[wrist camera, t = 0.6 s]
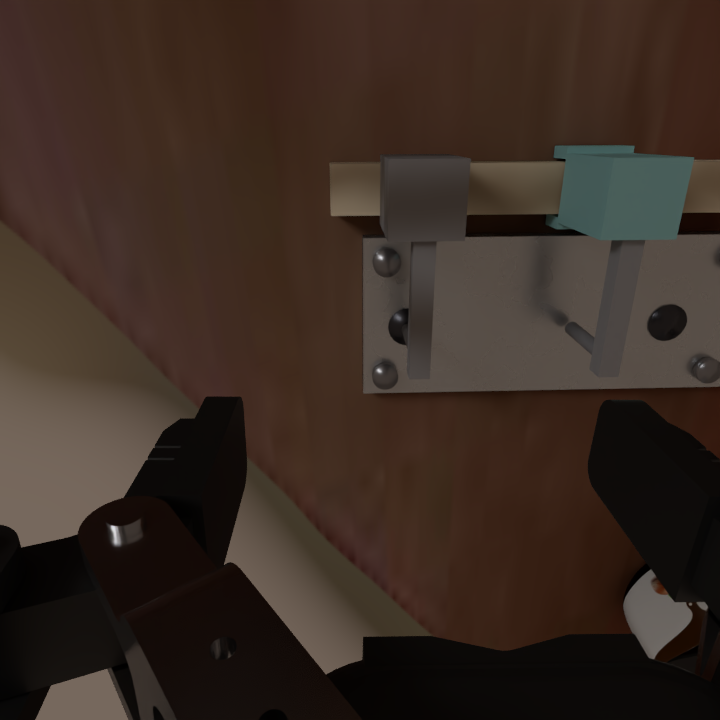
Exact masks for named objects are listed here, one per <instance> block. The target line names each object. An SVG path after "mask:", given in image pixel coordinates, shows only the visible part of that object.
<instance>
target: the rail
mask: <svg viewBox="0 0 720 720" xmlns="http://www.w3.org/2000/svg"><path fill="white" fill-rule="evenodd" d="M565 162H566V161H471V158H465V157H460V156H455V155H450V154H395V155H380V162H330V199H331V216H380V225H381V228H382V230H383V232H384V235H385V237H386V239H387V241H388V242H411V255H410V286H409V318H408V323H407V324H404V325H403V327H402V333H403V337H404V340H405V343H406V346H407V374H408V377H409V379H430V365H431V345H432V325H433V305H434V285H435V265H436V245H437V241H465V234H466V220H467V215H502V214H559V207H560V200H561V192H562V185H563V177H564V170H565ZM682 213H720V160H694V161H693V166H692V171H691V175H690V180H689V184H688V189H687V193H686V198H685V202H684V207H683V212H682Z"/></svg>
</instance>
